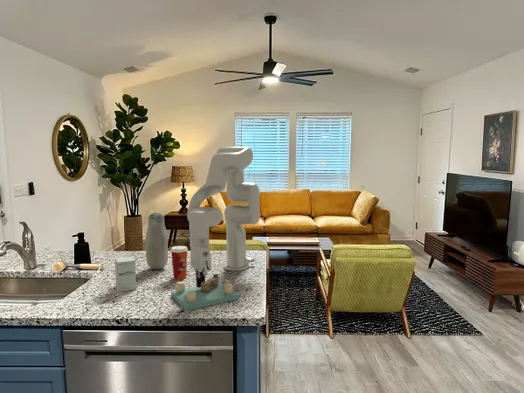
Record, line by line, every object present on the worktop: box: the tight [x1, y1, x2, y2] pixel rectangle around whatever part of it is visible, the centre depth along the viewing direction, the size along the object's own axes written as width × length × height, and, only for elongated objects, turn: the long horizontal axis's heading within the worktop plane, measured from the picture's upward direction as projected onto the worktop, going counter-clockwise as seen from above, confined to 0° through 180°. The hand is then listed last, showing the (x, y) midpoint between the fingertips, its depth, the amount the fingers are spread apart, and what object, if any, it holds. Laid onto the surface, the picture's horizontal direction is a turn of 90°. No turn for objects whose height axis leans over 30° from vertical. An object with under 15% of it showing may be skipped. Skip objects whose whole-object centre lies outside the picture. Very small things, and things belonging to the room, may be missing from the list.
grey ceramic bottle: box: [144, 212, 169, 270], centre depth 180 cm, size 10×10×28 cm
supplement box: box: [114, 256, 137, 293], centre depth 153 cm, size 7×7×13 cm
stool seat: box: [170, 279, 239, 312], centre depth 143 cm, size 21×17×6 cm
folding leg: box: [201, 273, 219, 293], centre depth 147 cm, size 11×2×4 cm, turn 160°
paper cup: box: [170, 245, 189, 280], centre depth 167 cm, size 8×8×14 cm
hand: (200, 286), depth 146 cm, fingers closed
